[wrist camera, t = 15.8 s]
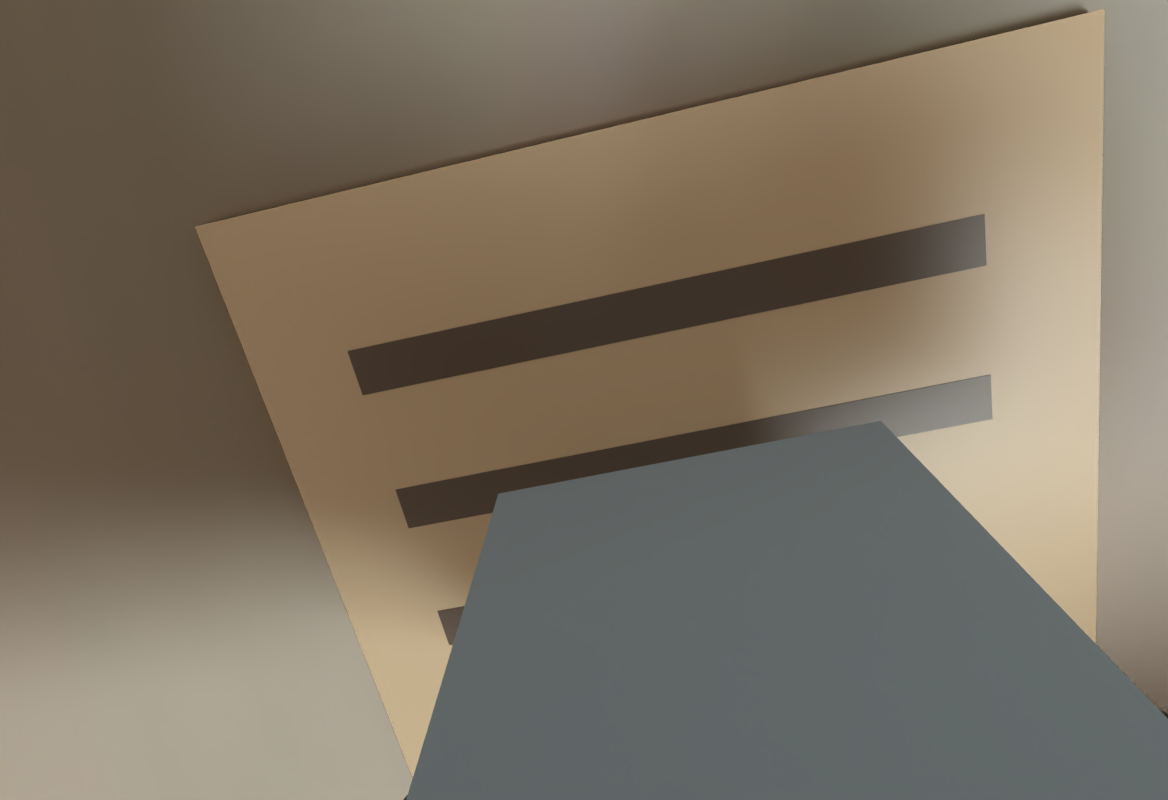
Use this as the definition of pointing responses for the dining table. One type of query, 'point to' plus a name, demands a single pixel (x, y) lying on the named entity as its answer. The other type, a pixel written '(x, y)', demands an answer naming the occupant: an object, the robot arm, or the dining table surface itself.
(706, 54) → the dining table surface
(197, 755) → the dining table surface
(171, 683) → the dining table surface
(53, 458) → the dining table surface
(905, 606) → the blue block
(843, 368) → the letter card
